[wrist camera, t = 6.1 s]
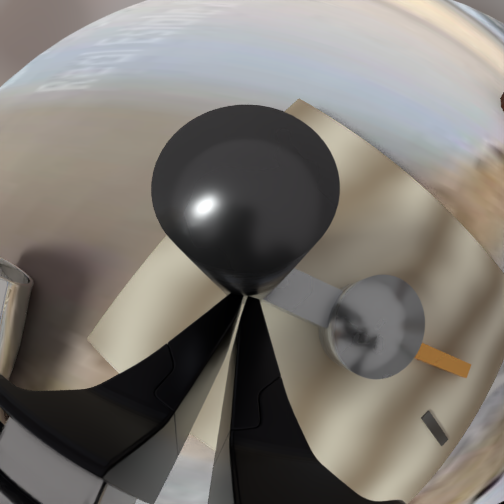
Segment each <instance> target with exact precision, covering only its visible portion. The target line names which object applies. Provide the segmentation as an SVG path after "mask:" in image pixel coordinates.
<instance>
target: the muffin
mask: <svg viewBox="0 0 504 504" xmlns="http://www.w3.org/2000/svg"><path fill="white" fill-rule="evenodd" d="M500 99H501V107H502V109H503V111H504V93H503V95H502V97H501V98H500Z"/></svg>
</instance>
